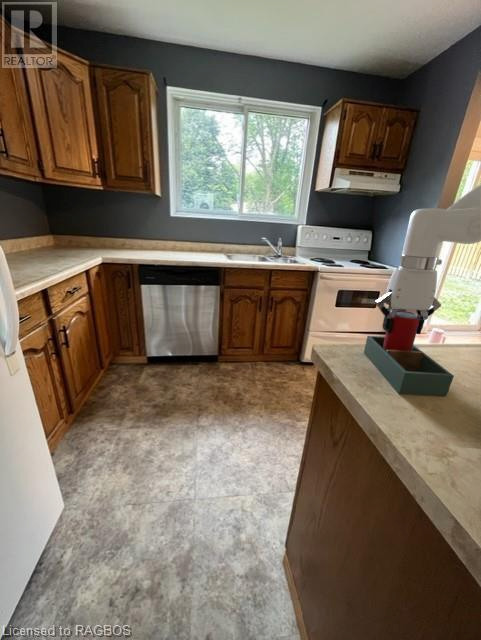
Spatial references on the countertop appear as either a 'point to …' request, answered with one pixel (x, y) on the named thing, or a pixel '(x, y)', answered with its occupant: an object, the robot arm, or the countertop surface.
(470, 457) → the countertop surface
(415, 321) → the beverage can
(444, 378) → the open rectangular storage bin
